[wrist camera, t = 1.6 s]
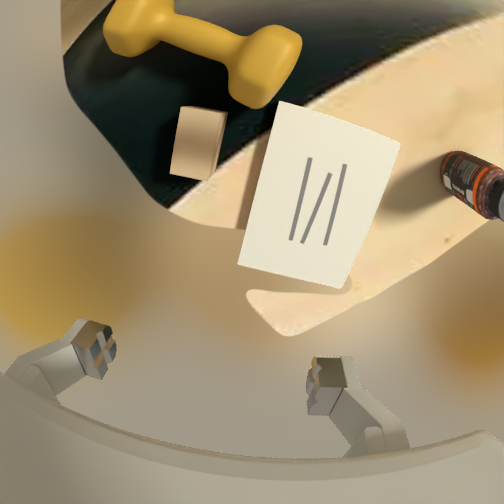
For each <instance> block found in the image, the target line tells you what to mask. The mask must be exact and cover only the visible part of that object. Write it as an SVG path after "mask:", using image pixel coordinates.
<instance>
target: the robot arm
mask: <svg viewBox="0 0 504 504" xmlns="http://www.w3.org/2000/svg"><path fill="white" fill-rule="evenodd" d="M112 334H113V332H112V329H111V327H110V326H108V325H105V324H101V323H98V322H94V321H91V320H86V319H83V318H79V319H78V320H77V321H76V322H75V323H74V325H73V326H72V327H71V328H70V329H69V330H68V332H67V333H66V334H65V336H64V337H63V338H62V339H61V340H59V339H58V340H56V341H53V342H51V343H48V344H47V345H44V346H42V347H39V348H37V349H35V350H32V351H30V352H28V353H26V354H23V355H21V356H19V357H18V358H17V359H16V360H15V361H14V363H13V364H12V365H11V366H10V368H9V369H8V370H7V371H6V373H5V374H3V373H1V372H0V504H504V444H503V443H502V442H501V441H499V440H498V439H497V438H495V437H494V436H493V435H491V434H490V433H488V432H486V431H485V430H478V431H474V432H471V433H468V434H465V435H462V436H459V437H456V438H452V439H449V440H445V441H441V442H438V443H433V444H429V445H425V446H420V447H416V448H412V449H410V447H409V443H408V439H407V435H406V432H405V428H404V425H403V422H401V421H400V420H399V419H398V418H397V417H396V416H395V415H394V414H393V413H391V412H390V411H389V410H388V409H387V408H386V407H385V406H384V405H383V404H382V403H380V402H379V401H378V400H377V399H376V398H375V397H374V396H373V395H372V394H371V393H370V392H368V391H367V390H366V389H365V388H361V386H360V382H359V378H358V374H357V370H356V366H355V363H354V359H353V358H352V357H342V356H340V357H338V356H314V357H313V359H312V368H311V369H310V370H309V372H308V375H307V382H306V392H307V394H308V395H309V398H308V400H307V406H308V407H307V408H308V415H321V416H329V417H330V419H331V420H332V421H333V423H334V424H335V425H336V427H337V428H338V429H339V431H340V432H341V433H342V434H343V436H344V437H345V438H346V440H347V441H348V442H349V444H350V445H351V446H352V447H351V448H350V449H349V450H348V451H347V453H346V454H345V455H344V456H343V457H342V458H323V459H287V458H265V457H253V456H243V455H234V454H227V453H219V452H213V451H207V450H201V449H196V448H191V447H186V446H181V445H176V444H172V443H167V442H164V441H160V440H156V439H152V438H148V437H145V436H141V435H138V434H135V433H131V432H128V431H125V430H122V429H119V428H116V427H113V426H110V425H107V424H105V423H102V422H99V421H97V420H94V419H91V418H89V417H87V416H84V415H82V414H79V413H77V412H75V411H72V410H70V409H68V408H66V407H64V406H61V404H60V402H59V400H58V399H57V397H56V395H58V394H59V393H61V392H62V391H64V390H65V389H67V388H68V387H69V386H71V385H72V384H74V383H76V382H77V381H79V380H80V379H81V378H83V377H85V376H86V375H88V376H91V377H94V378H97V379H100V380H102V379H103V377H104V375H105V373H106V372H107V370H108V366H107V364H109V363H111V362H112V361H113V360H114V358H115V355H116V342H115V340H114V339H113V338H112V337H111V335H112Z"/></svg>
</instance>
